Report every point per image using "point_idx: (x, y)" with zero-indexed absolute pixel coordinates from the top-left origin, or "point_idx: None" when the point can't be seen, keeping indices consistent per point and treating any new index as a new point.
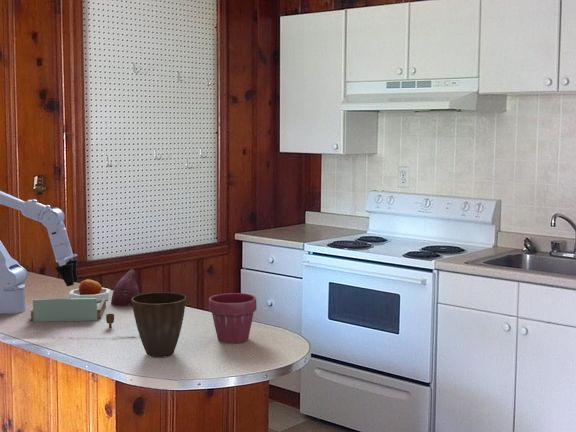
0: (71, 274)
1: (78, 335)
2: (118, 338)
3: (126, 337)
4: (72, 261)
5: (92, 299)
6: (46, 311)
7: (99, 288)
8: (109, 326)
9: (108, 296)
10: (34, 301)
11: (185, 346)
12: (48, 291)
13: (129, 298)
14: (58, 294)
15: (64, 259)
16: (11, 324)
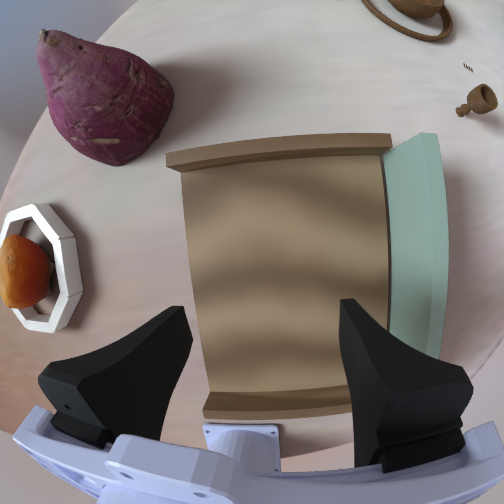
0: (396, 339)
1: (497, 202)
2: (500, 97)
3: (490, 79)
4: (103, 414)
5: (438, 153)
6: None
7: (20, 238)
8: (470, 110)
9: (41, 205)
10: None
11: (491, 3)
12: (23, 377)
13: (152, 70)
14: (33, 356)
15: (496, 471)
16: None
